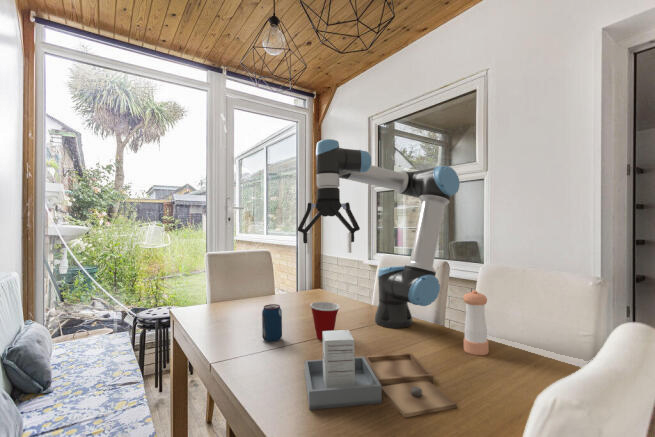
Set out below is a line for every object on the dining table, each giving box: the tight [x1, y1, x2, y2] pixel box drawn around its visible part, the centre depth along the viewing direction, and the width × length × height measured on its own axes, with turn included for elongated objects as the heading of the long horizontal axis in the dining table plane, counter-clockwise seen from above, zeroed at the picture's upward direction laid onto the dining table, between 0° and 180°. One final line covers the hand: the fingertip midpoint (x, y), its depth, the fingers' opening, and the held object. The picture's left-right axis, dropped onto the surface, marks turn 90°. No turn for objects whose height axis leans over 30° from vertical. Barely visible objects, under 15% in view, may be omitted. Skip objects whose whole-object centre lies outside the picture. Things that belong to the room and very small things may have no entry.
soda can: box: [261, 303, 283, 344], centre depth 117 cm, size 7×7×12 cm
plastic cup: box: [310, 301, 341, 341], centre depth 118 cm, size 11×11×12 cm
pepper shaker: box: [462, 289, 490, 356], centre depth 105 cm, size 7×7×19 cm
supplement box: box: [322, 329, 356, 389], centre depth 82 cm, size 7×7×13 cm
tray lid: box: [382, 380, 458, 419], centre depth 77 cm, size 13×12×2 cm
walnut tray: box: [363, 352, 434, 386], centre depth 91 cm, size 15×15×2 cm
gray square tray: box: [304, 356, 383, 411], centre depth 82 cm, size 17×17×4 cm
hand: (329, 253), depth 107 cm, fingers open, 13 cm apart
